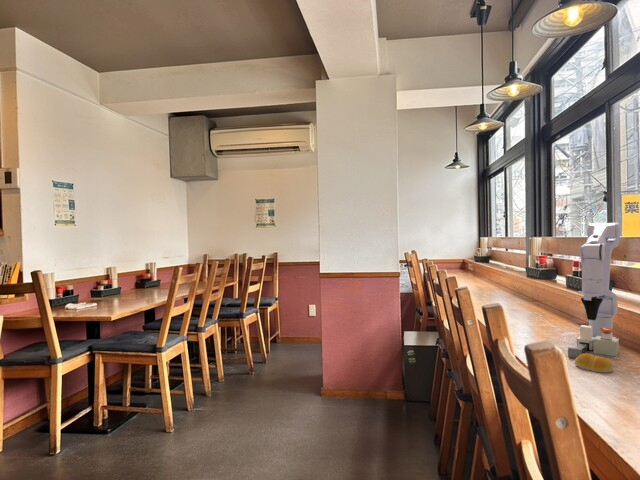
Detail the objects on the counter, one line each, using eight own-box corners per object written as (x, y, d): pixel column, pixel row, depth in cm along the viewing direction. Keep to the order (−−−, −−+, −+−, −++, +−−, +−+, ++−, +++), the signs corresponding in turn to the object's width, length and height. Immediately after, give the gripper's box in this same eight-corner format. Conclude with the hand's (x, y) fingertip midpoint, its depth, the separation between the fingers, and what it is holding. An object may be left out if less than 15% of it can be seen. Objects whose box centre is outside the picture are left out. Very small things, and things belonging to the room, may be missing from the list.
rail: (583, 343, 144) (583, 334, 144) (595, 345, 141) (596, 336, 141) (567, 357, 126) (568, 347, 126) (581, 359, 124) (581, 349, 124)
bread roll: (609, 375, 110) (609, 361, 110) (572, 367, 117) (572, 354, 117) (617, 369, 115) (617, 355, 115) (581, 362, 122) (581, 349, 122)
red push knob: (600, 343, 134) (601, 327, 134) (613, 344, 132) (613, 328, 132) (599, 345, 132) (599, 328, 132) (611, 346, 130) (611, 330, 130)
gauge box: (596, 349, 136) (596, 335, 136) (618, 352, 132) (618, 338, 132) (593, 352, 132) (593, 338, 132) (616, 356, 128) (616, 342, 128)
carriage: (580, 344, 142) (580, 324, 142) (595, 346, 139) (595, 326, 139) (576, 347, 137) (576, 326, 137) (592, 350, 134) (592, 328, 134)
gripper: (582, 277, 144) (582, 315, 144) (573, 279, 134) (572, 320, 134) (606, 278, 139) (606, 318, 139) (598, 281, 129) (598, 324, 129)
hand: (591, 319), depth 136 cm, fingers closed
